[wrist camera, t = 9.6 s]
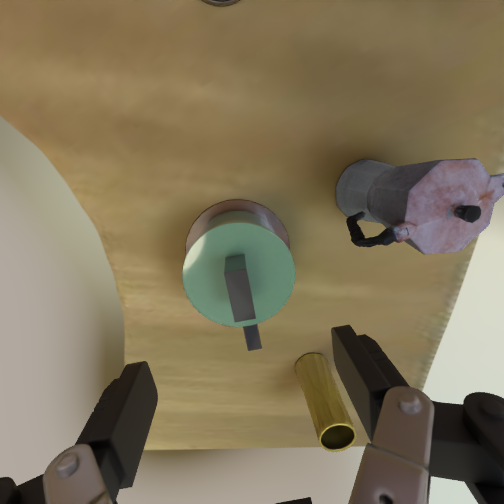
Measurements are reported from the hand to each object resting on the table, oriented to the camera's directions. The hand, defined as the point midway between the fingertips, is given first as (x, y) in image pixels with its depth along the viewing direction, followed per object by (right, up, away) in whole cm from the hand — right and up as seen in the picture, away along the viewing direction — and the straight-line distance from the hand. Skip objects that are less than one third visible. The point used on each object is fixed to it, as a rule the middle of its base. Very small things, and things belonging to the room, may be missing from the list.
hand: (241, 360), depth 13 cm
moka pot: (+17, +14, +32) cm, 38 cm away
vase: (+11, -16, +41) cm, 46 cm away
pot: (-1, +2, +33) cm, 33 cm away
